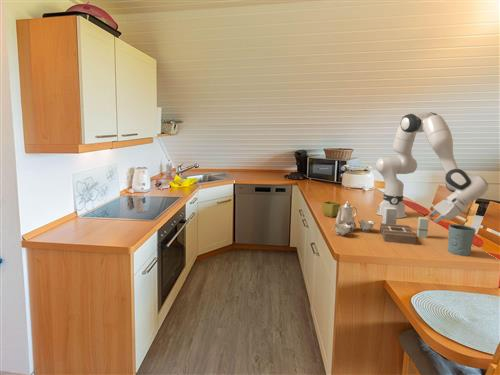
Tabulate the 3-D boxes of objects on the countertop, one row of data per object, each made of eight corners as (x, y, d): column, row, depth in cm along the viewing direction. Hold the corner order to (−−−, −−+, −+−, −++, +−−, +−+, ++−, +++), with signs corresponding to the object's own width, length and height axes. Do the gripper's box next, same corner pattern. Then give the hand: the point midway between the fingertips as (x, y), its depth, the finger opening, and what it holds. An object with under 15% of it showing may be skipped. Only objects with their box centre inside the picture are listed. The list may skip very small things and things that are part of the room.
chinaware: (342, 242, 159) (347, 211, 155) (319, 230, 172) (323, 201, 168) (377, 234, 174) (382, 205, 170) (353, 223, 187) (357, 197, 183)
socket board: (380, 230, 176) (380, 222, 175) (407, 232, 172) (408, 225, 171) (384, 241, 157) (385, 233, 156) (415, 244, 153) (416, 236, 152)
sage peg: (416, 235, 168) (418, 217, 166) (425, 235, 167) (427, 217, 165) (418, 237, 164) (420, 218, 162) (427, 238, 163) (429, 219, 161)
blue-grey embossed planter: (448, 254, 141) (451, 228, 139) (443, 247, 150) (446, 223, 148) (475, 258, 137) (478, 231, 135) (468, 250, 146) (471, 225, 144)
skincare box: (391, 227, 181) (393, 207, 179) (395, 229, 177) (397, 209, 175) (381, 227, 181) (383, 207, 179) (384, 229, 177) (386, 208, 175)
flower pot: (332, 218, 198) (332, 204, 197) (320, 215, 205) (321, 202, 203) (339, 216, 204) (340, 203, 202) (328, 213, 210) (329, 200, 209)
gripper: (445, 194, 169) (422, 210, 173) (458, 201, 149) (433, 219, 153) (453, 202, 168) (431, 218, 172) (467, 211, 149) (442, 229, 153)
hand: (432, 219), depth 163 cm, fingers open, 8 cm apart
